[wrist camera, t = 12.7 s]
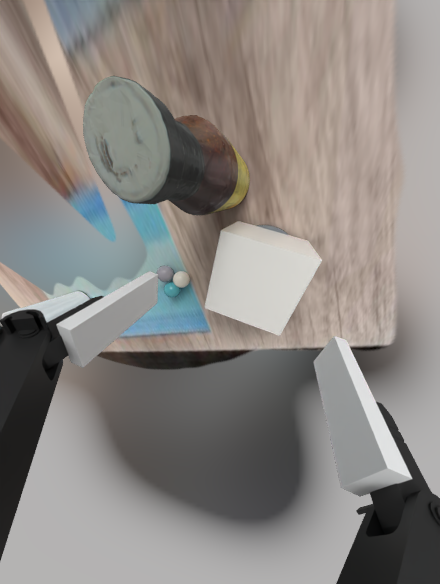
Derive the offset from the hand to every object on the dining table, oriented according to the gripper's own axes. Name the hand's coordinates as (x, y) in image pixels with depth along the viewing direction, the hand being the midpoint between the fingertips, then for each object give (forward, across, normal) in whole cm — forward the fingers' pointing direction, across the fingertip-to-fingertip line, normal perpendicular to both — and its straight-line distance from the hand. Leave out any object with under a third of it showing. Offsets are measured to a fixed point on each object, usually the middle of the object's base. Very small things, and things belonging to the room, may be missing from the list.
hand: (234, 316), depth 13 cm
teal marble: (+17, -13, -11) cm, 24 cm away
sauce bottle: (+17, -7, +8) cm, 20 cm away
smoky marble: (+17, -15, -8) cm, 24 cm away
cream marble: (+17, -12, -8) cm, 22 cm away
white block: (+16, +1, -1) cm, 16 cm away
